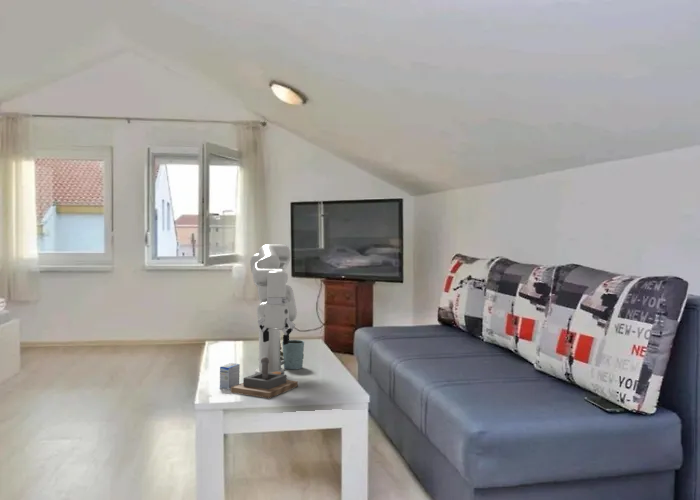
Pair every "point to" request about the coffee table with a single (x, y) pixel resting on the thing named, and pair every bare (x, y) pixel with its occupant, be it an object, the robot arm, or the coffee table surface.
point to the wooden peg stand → (260, 391)
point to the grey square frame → (272, 381)
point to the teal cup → (293, 354)
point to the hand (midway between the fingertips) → (275, 342)
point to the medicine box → (229, 375)
